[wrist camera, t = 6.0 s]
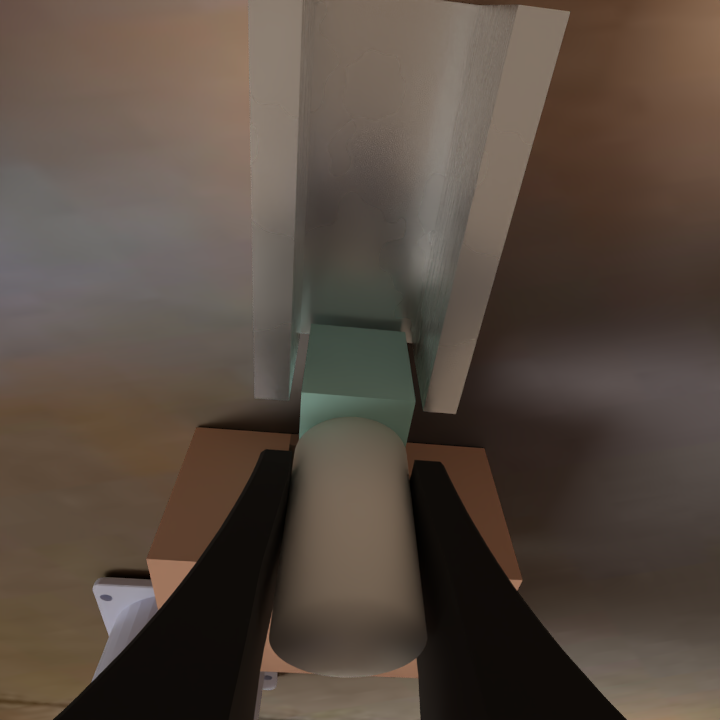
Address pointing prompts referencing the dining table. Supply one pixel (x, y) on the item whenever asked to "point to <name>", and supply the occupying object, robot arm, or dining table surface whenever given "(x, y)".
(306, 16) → the grey u-channel
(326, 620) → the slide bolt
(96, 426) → the dining table surface
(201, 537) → the socket block
